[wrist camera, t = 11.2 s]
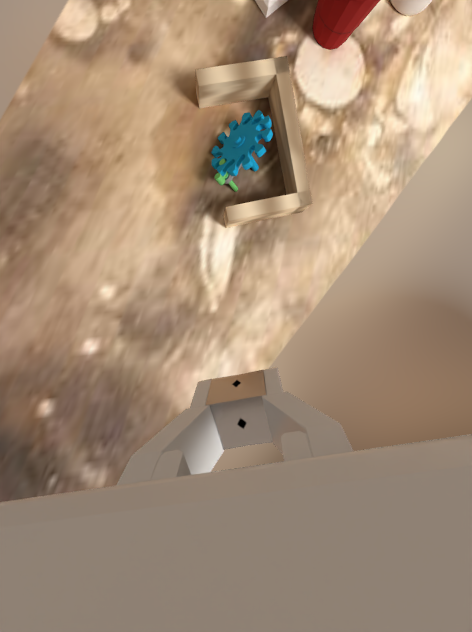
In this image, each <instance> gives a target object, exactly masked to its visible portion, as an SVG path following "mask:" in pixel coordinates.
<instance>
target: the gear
mask: <svg viewBox="0 0 472 632" xmlns="http://www.w3.org/2000/svg"><path fill="white" fill-rule="evenodd" d="M271 125H272V122H271V119H270V117H269V116H266V117H265V118H264V116H263V114H262V112H261V111H260V110H258V111H257V112H256V113H255V115H254V117H253V118H252V116H251V114H250V113H244V114H243V116H242V121H241V123H240V125H238V123H237V121H236V120H234V121H232V122H231V123H230V124H229V128H230V135H229V137H227V136H226V134H225V133H224V132H223V133H221V134H220V136H219V137H218V140H219V141H220V143H221V144H224V146H223V148H221V149H219V147H218V146H215V147H214V148H213V150H212V152H211V153H212V154H213V156H214V157H215V158H214V159H212V166H213V168H214V169H217V171H218V172H219V173H217V174H216V175H215V177H214V178H215V180H216V181H217V182H218V183H219V184H220V185H223V184H229V185H230V186H231V187H232V189H233V190H234V191H237V190H238V187H237V186H236V185H235V183H234V182H233V181H232V179H233V178H234V176H236V175H237V174H238V171H239V169H240V168H241V166H243V168H244V169H245V170H247V169H249V168H252V170H253V171H257V170H258V168H259V166H258V165H257V163H256V162H255V160H254V158H253V157H252V155H251V154H252V152H253V151H254V150H255V153H256V155H257V156H258V157H259V158H260V157H261V156H262V155H263V154H264V153H265V152H266V150H265V148H264V146H263V144H258V141H259V140H260V139H264V140H265V142H269V141H270V140H271V138H272V136H273V133H272V131H271V129H270V127H271ZM261 129H266V130H263V131H260V130H261ZM219 156H222V157H221V158H216V157H219Z"/></svg>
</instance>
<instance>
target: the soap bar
mask: <svg viewBox="0 0 472 632" xmlns="http://www.w3.org/2000/svg"><path fill="white" fill-rule="evenodd" d="M255 1H256V3H257V5H258V6H259V8H260V9H261V11H262V12H263V14H264V16H265V17H268V16H269V15H270V14H271V13H273V12H274V11H275V10H277V9H278V8H279V7H280V6H282V5H283V4H284V3H285V2H287V1H288V0H255Z"/></svg>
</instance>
